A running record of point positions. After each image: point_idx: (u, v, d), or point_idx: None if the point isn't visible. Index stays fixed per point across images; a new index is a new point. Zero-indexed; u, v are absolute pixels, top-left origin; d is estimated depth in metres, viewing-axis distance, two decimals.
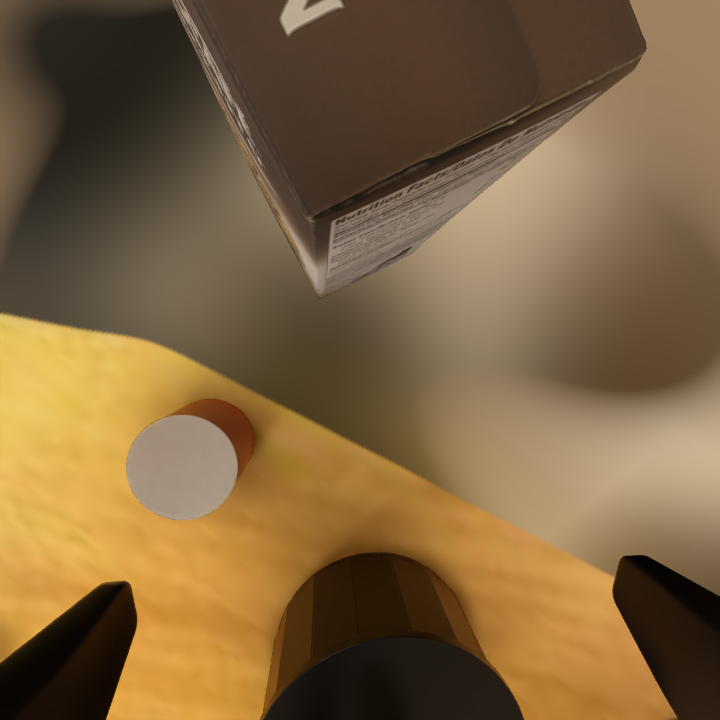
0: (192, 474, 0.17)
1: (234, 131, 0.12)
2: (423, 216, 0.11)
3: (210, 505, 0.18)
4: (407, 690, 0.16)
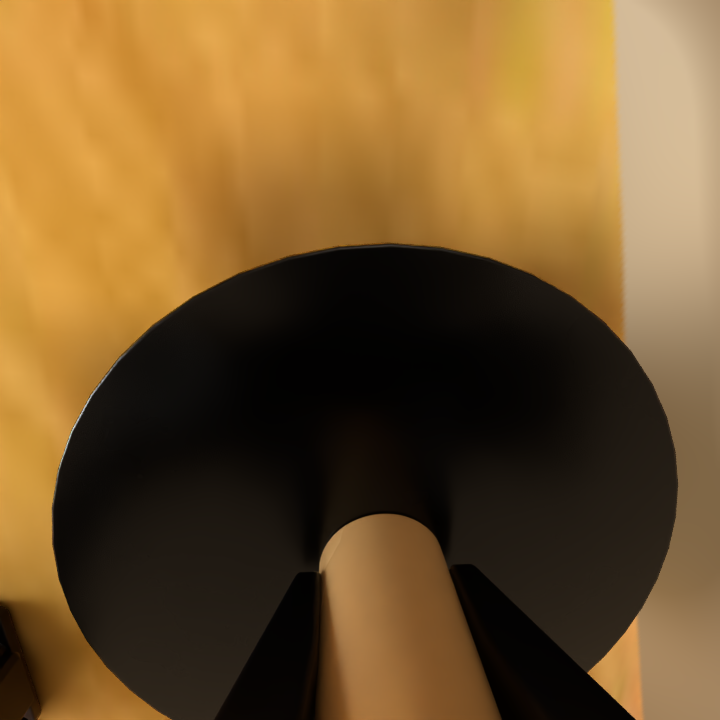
0: None
1: None
2: None
3: None
4: (549, 466, 0.07)
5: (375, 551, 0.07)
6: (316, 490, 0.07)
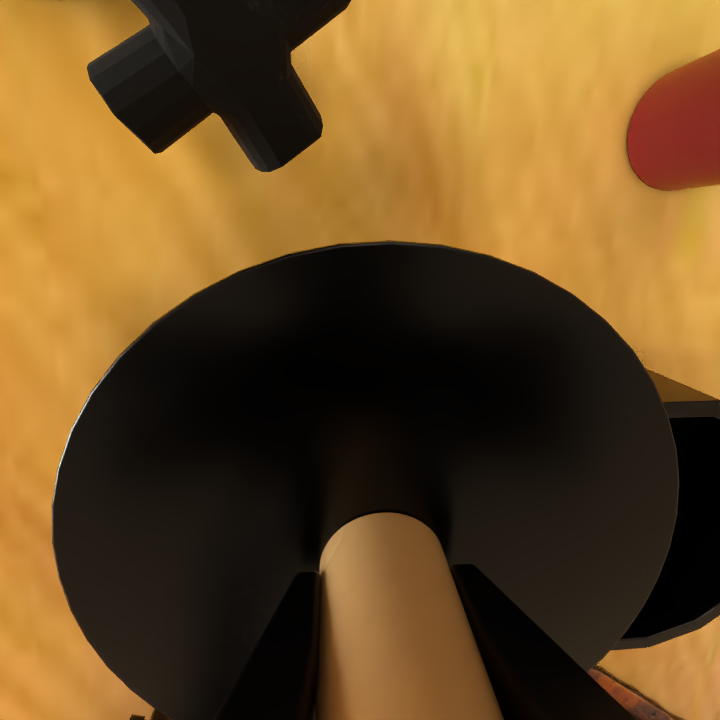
0: None
1: None
2: None
3: None
4: (551, 465, 0.07)
5: (376, 550, 0.06)
6: (316, 488, 0.07)
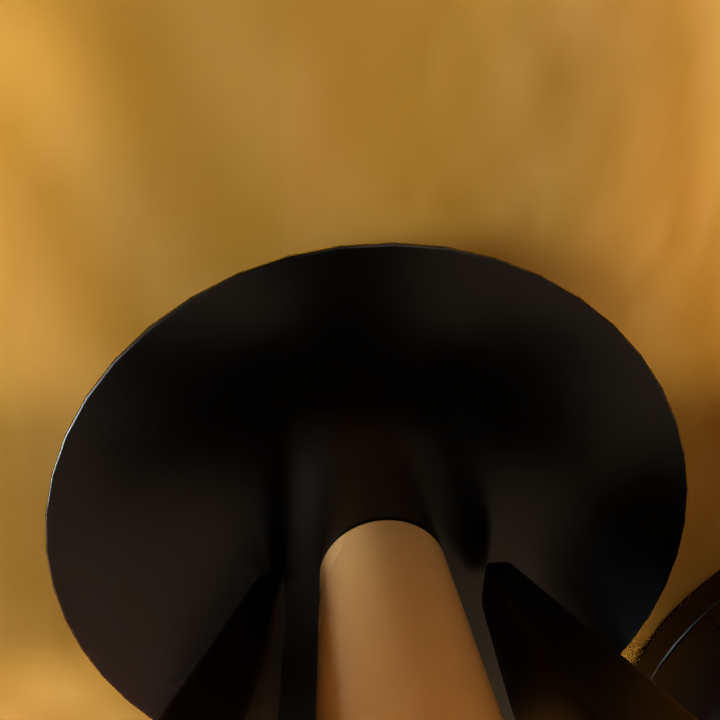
0: None
1: None
2: None
3: None
4: (556, 471, 0.07)
5: (377, 559, 0.06)
6: (316, 496, 0.07)
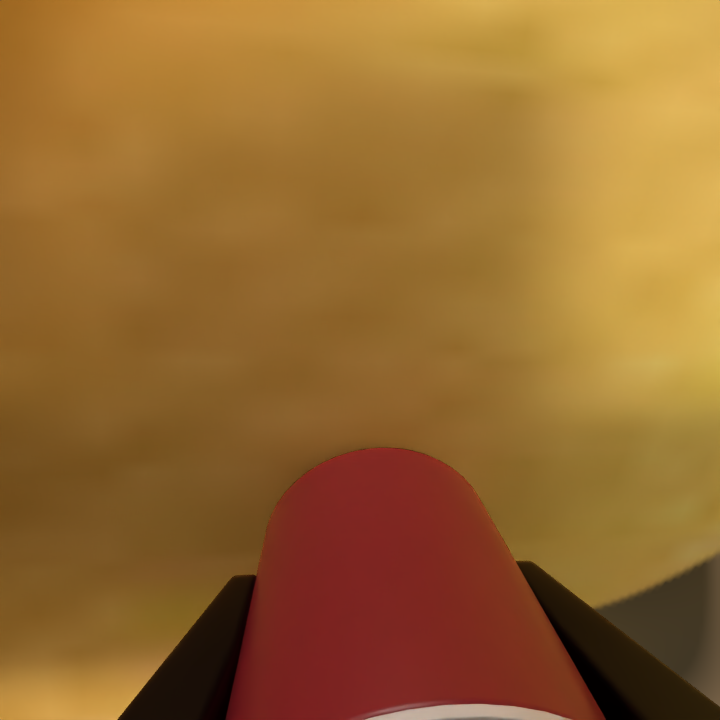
0: None
1: None
2: None
3: None
4: None
5: None
6: None
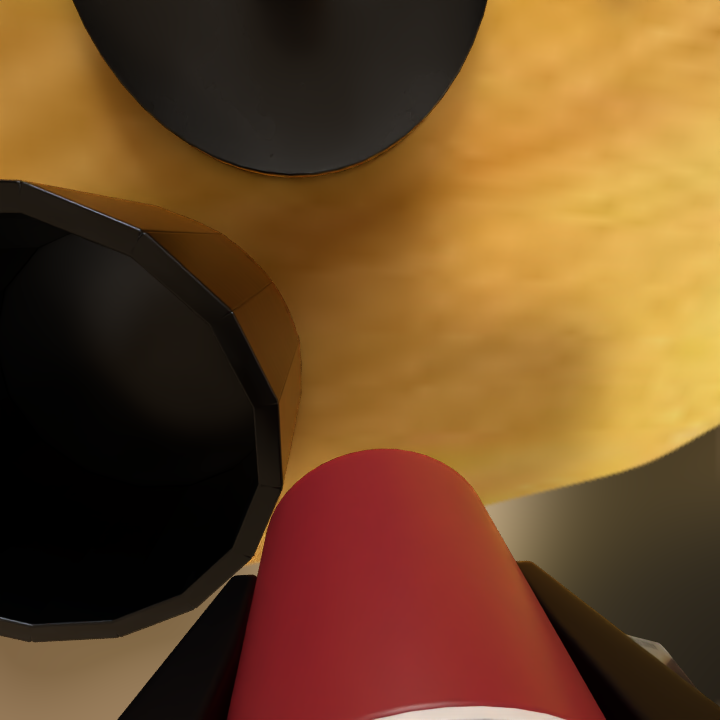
0: None
1: None
2: None
3: None
4: (355, 70, 0.12)
5: None
6: None
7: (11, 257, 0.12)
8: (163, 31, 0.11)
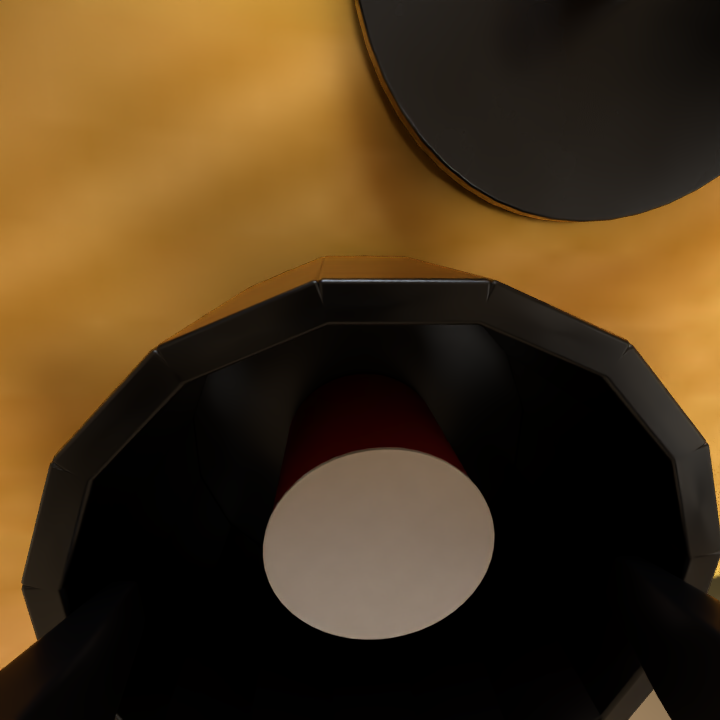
0: (357, 556, 0.08)
1: None
2: None
3: (279, 538, 0.08)
4: (684, 94, 0.09)
5: None
6: None
7: None
8: (464, 48, 0.09)
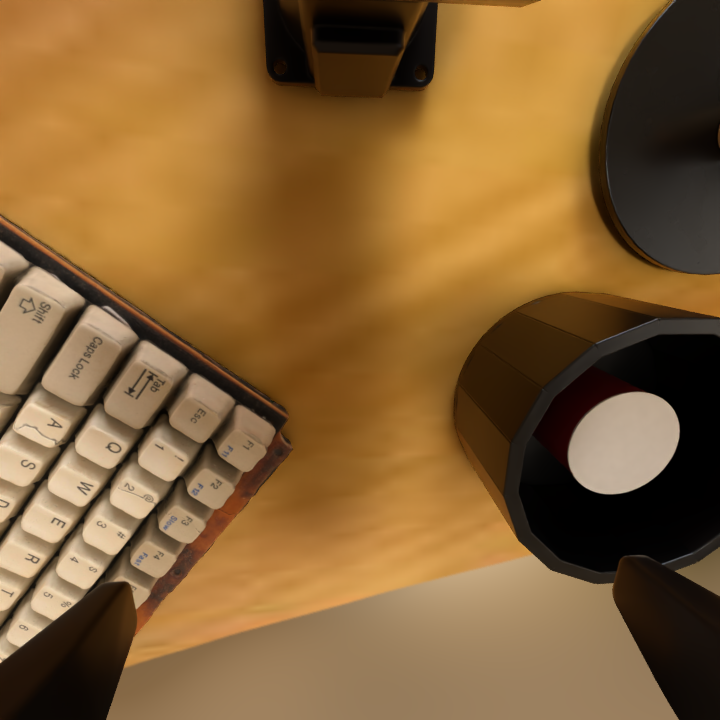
0: (612, 446, 0.16)
1: None
2: None
3: (579, 436, 0.16)
4: None
5: None
6: None
7: None
8: (655, 188, 0.17)
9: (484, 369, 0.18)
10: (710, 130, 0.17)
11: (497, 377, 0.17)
